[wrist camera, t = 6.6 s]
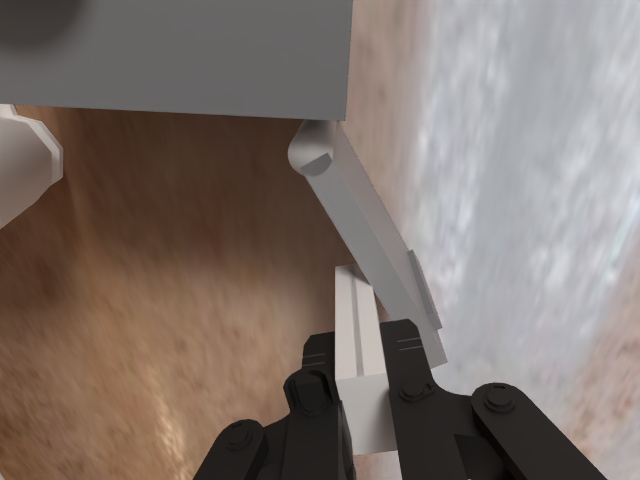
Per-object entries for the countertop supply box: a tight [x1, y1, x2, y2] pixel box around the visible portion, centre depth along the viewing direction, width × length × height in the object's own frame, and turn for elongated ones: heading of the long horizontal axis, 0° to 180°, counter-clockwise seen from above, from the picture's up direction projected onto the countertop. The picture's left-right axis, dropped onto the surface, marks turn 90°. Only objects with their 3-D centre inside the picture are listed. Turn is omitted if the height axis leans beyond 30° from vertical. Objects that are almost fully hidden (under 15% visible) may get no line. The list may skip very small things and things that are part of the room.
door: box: [288, 119, 448, 369], centre depth 19 cm, size 2×10×9 cm, turn 30°
